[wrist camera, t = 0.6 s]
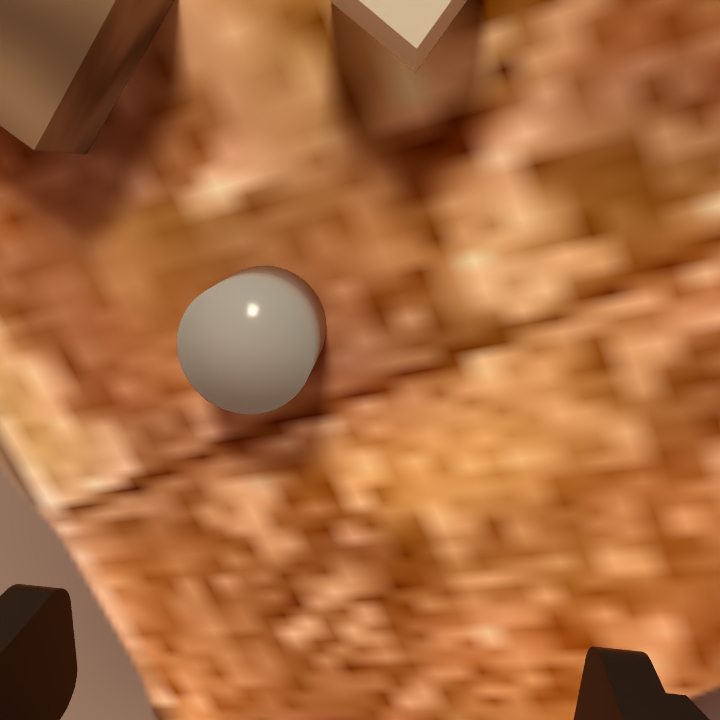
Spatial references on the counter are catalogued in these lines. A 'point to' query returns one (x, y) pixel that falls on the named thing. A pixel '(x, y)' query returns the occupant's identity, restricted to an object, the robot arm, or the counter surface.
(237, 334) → the grey rounded capsule
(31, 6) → the walnut block
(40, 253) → the counter surface
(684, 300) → the counter surface
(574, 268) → the counter surface
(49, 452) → the counter surface
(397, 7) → the cream block
